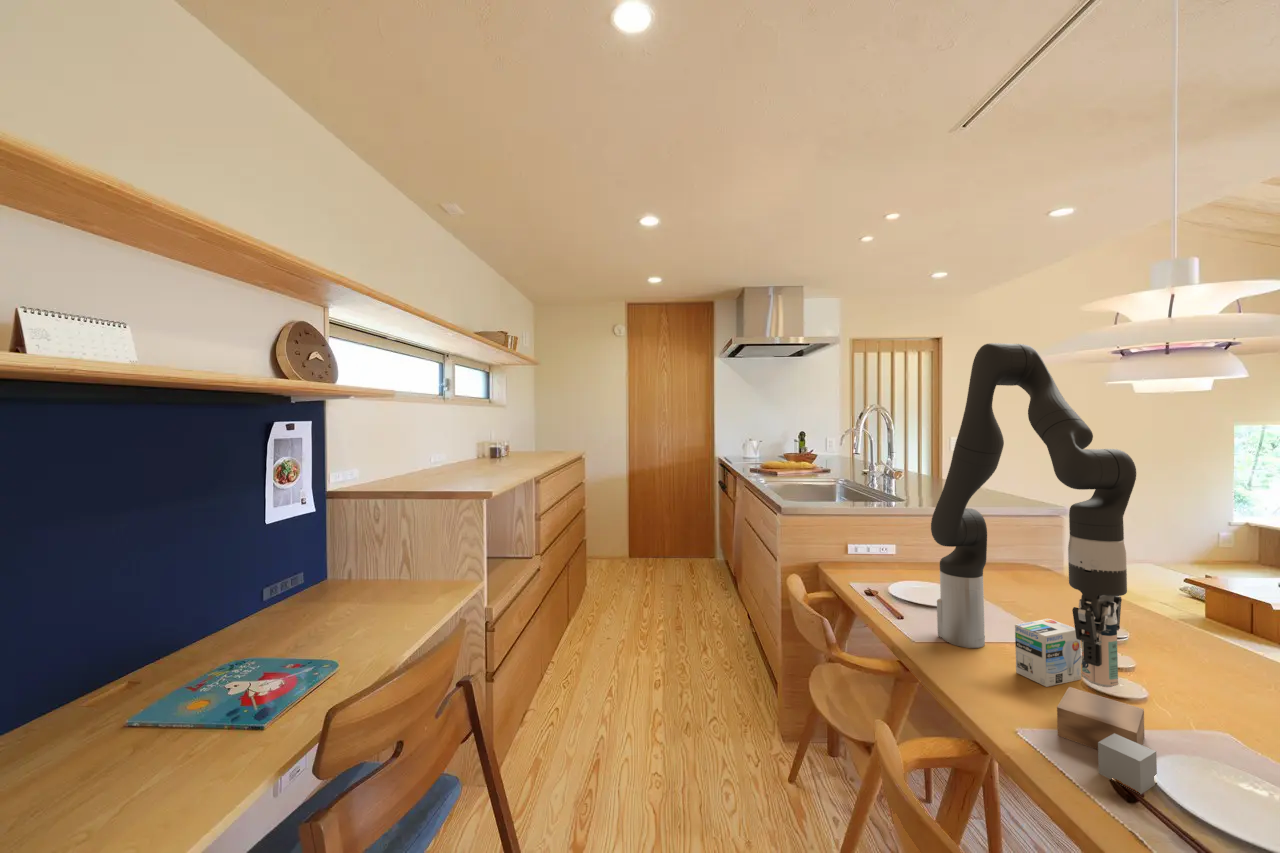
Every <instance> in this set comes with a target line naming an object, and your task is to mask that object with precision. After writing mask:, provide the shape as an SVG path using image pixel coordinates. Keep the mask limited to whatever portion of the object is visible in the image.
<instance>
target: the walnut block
mask: <svg viewBox="0 0 1280 853" xmlns="http://www.w3.org/2000/svg"><path fill="white" fill-rule="evenodd" d="M1056 715H1057V716H1056V717H1057V718H1056V720H1057V721H1056V722H1057V725H1056V726H1057V736H1058V737H1061V738H1064V739H1067V740H1069V741H1072V742H1076V743H1078V744H1081V745H1082V746H1083V745H1084V746H1087V747H1089V748H1092V749H1094V750H1097V751H1098V742H1099V741H1101V740H1103V739H1105V738H1107V737H1108V736H1110V735H1112V734H1114V733H1115V734H1117V735H1119V736H1122V737H1124V738H1126V739H1129V740H1131V741H1133V742H1136V743H1138V744H1140V745H1143V744H1144V742H1145V710H1144V708H1142V707H1139V706H1136V705H1132V704H1128V703H1125V702H1121V701H1117V700H1115V699H1111V698H1107V697H1104V696H1101V695H1098V694H1095V693H1092V692H1088V691H1085V690H1081V689H1078V688H1075V687H1071V686H1068V688H1067V689H1066V691H1065V693H1064V694H1063V696H1062V697H1061V700H1060V701H1059V703H1058V705H1057V706H1056ZM1143 746H1144V745H1143Z"/></svg>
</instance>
